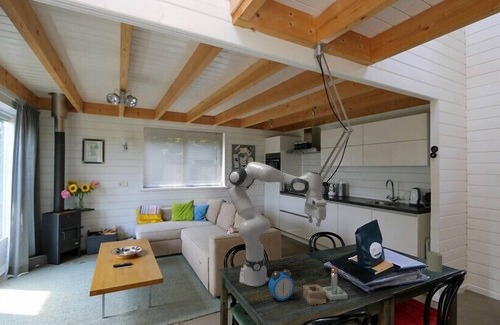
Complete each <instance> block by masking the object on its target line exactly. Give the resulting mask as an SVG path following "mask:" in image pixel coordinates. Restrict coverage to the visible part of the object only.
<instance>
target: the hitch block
mask: <svg viewBox="0 0 500 325" xmlns="http://www.w3.org/2000/svg"><path fill="white" fill-rule="evenodd" d="M302 297H303V298H304V299H305V301H306V302H307V304H309V306H317V305H316V304H318V305H324V304H323V303H326V304H327V296H326V292H325V291H324V290H323V289H322V287H321V286H320V285H319V284H318V283H317V284H306V285H303V286H302Z"/></svg>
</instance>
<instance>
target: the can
mask: <svg viewBox="0 0 500 325" xmlns="http://www.w3.org/2000/svg"><path fill="white" fill-rule="evenodd" d="M427 266H428V267H427ZM426 267H427V268H426ZM426 267H425V268H426V270H427V271H430V272H433V273H438V274H439V273H440V274H441V273H443V254H442V253H440V252H437V251H429V250H428V251H426Z"/></svg>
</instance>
